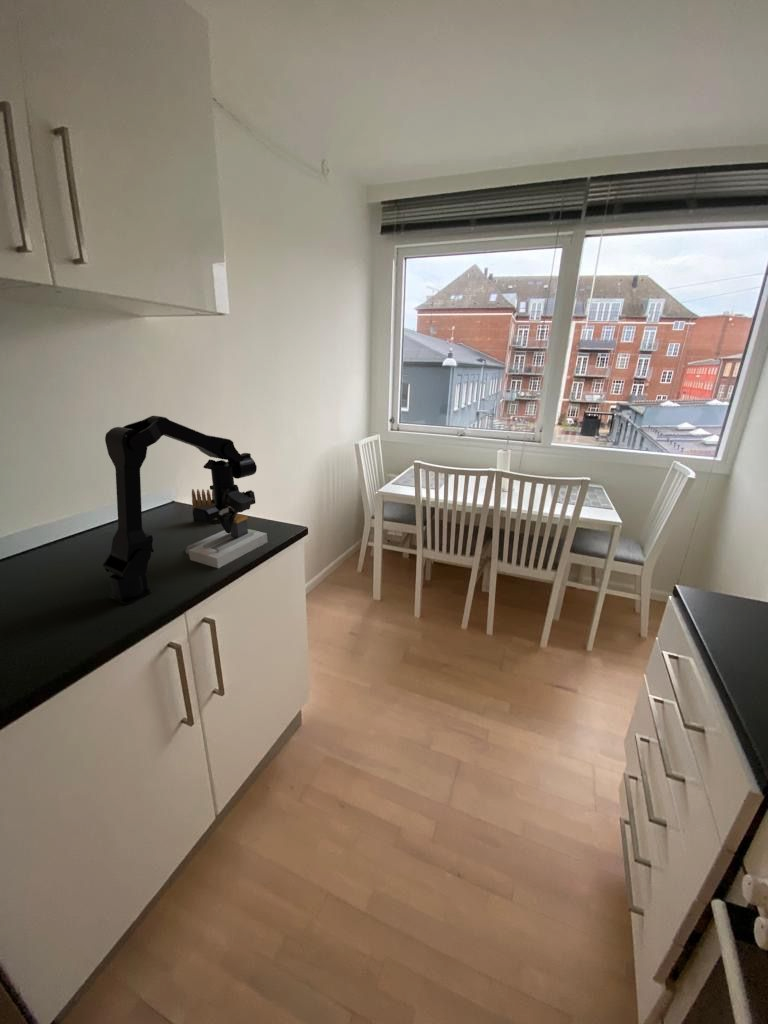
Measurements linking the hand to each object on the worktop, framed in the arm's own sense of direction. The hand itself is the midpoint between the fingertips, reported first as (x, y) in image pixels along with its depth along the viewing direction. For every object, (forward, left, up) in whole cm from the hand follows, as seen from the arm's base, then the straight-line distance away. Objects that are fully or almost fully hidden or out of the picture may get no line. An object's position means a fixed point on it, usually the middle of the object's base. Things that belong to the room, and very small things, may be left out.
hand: (228, 533), depth 124 cm
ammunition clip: (+14, +24, -6) cm, 28 cm away
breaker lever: (+4, 0, -2) cm, 5 cm away
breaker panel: (0, 0, -6) cm, 6 cm away
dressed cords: (0, +9, -6) cm, 11 cm away
